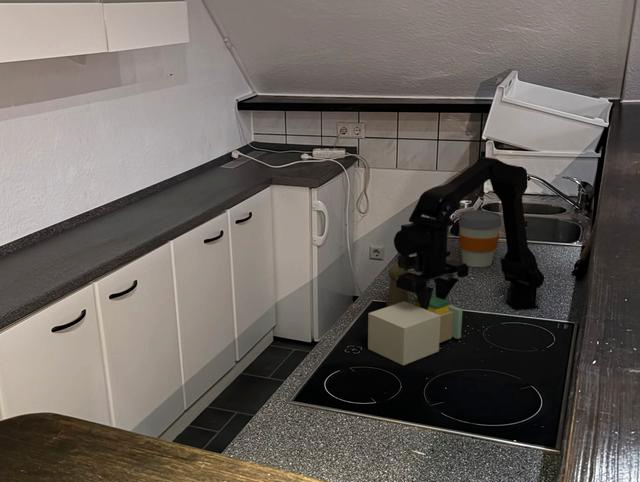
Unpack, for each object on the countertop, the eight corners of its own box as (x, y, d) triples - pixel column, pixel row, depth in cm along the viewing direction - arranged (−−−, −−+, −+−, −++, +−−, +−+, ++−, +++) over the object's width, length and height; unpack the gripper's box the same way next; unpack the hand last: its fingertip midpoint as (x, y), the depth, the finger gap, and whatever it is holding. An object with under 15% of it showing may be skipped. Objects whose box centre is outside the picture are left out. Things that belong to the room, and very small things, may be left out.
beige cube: (403, 336, 185) (404, 301, 182) (438, 351, 177) (440, 315, 173) (367, 349, 179) (368, 313, 176) (403, 365, 170) (404, 328, 167)
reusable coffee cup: (449, 265, 234) (452, 217, 228) (464, 254, 243) (467, 208, 238) (489, 271, 227) (493, 222, 222) (503, 259, 237) (507, 213, 231)
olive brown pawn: (408, 309, 201) (409, 270, 197) (385, 308, 202) (386, 269, 198) (409, 301, 207) (410, 262, 203) (387, 300, 208) (388, 262, 204)
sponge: (413, 311, 182) (414, 297, 180) (426, 307, 184) (427, 293, 183) (435, 320, 177) (436, 306, 175) (448, 315, 179) (449, 301, 178)
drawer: (431, 323, 190) (433, 296, 187) (464, 336, 182) (466, 308, 179) (398, 335, 183) (398, 307, 181) (430, 349, 176) (431, 320, 173)
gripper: (435, 231, 185) (433, 291, 191) (379, 246, 175) (378, 309, 181) (471, 241, 177) (467, 303, 183) (415, 258, 167) (413, 323, 173)
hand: (431, 309), depth 180 cm, fingers closed on sponge, 4 cm apart
